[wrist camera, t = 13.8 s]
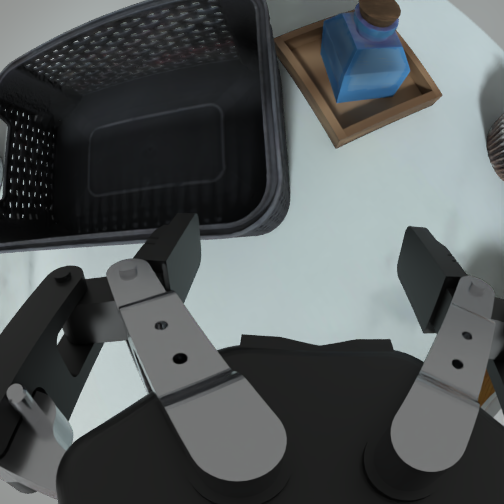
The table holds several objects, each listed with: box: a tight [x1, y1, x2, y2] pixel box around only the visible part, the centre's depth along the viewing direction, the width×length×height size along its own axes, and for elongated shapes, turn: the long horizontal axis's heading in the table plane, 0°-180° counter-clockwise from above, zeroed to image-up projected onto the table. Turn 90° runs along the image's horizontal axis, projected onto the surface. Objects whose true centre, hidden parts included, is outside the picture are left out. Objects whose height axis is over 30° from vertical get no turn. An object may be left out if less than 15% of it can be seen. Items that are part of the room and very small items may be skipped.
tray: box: [274, 10, 442, 148], centre depth 28 cm, size 13×13×3 cm
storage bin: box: [0, 0, 290, 253], centre depth 26 cm, size 29×19×13 cm
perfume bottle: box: [320, 0, 410, 103], centre depth 23 cm, size 6×6×12 cm
